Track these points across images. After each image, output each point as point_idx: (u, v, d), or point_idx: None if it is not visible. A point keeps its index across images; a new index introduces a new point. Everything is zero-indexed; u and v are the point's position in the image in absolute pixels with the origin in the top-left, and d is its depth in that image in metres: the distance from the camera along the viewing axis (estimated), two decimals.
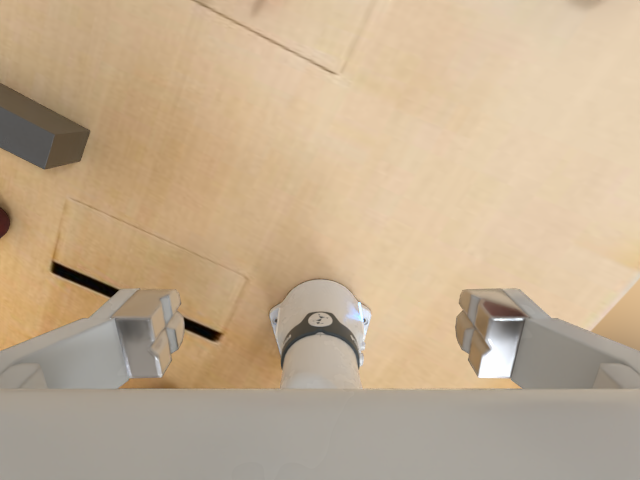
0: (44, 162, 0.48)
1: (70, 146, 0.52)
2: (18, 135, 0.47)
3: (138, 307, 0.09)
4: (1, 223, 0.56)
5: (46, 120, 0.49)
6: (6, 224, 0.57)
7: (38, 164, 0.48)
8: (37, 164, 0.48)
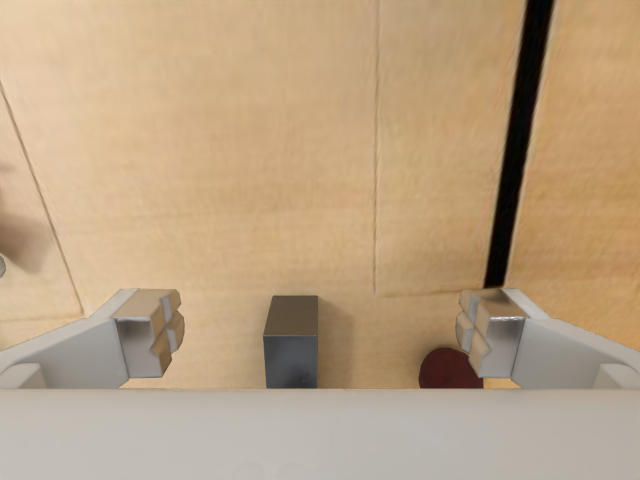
0: (307, 337, 0.35)
1: (288, 312, 0.39)
2: (289, 369, 0.36)
3: (138, 307, 0.09)
4: (438, 358, 0.41)
5: None
6: (441, 351, 0.42)
7: (314, 343, 0.35)
8: (314, 344, 0.35)
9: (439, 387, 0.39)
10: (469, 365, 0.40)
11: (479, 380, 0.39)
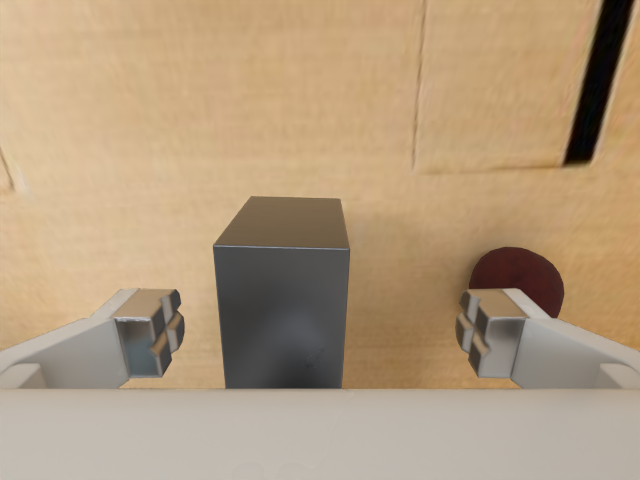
0: (325, 253, 0.14)
1: (280, 215, 0.17)
2: (277, 337, 0.15)
3: (138, 307, 0.09)
4: (501, 255, 0.29)
5: None
6: (503, 248, 0.30)
7: (341, 269, 0.14)
8: (342, 271, 0.14)
9: None
10: (545, 262, 0.29)
11: (560, 282, 0.28)
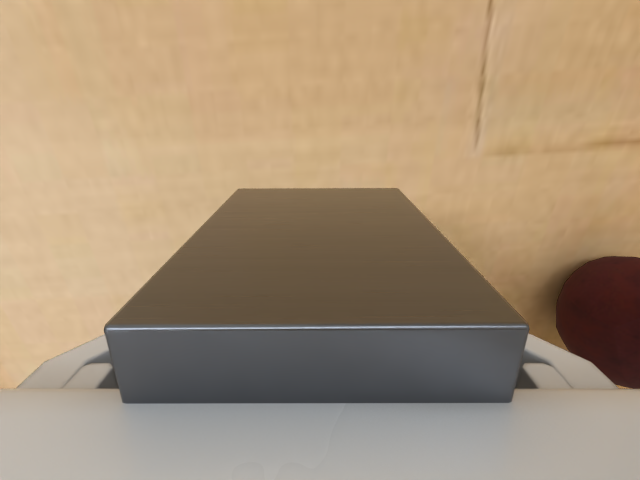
0: (450, 341, 0.04)
1: (296, 222, 0.08)
2: None
3: None
4: (614, 269, 0.20)
5: None
6: (612, 259, 0.21)
7: (495, 382, 0.05)
8: (499, 389, 0.05)
9: (632, 323, 0.18)
10: None
11: None
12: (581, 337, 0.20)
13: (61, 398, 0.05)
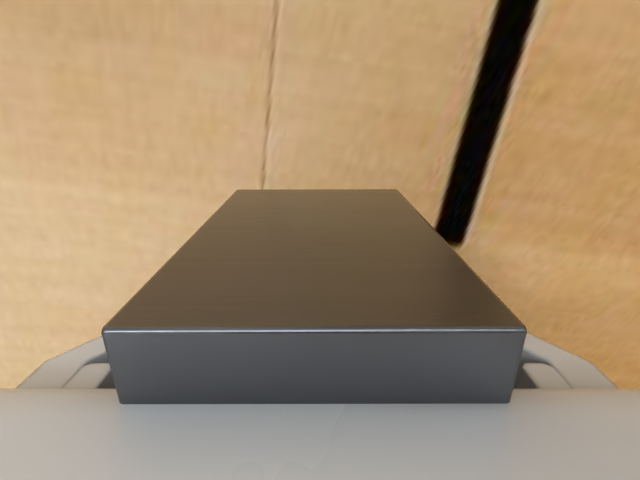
0: (448, 344, 0.04)
1: (295, 224, 0.08)
2: None
3: None
4: None
5: None
6: None
7: (493, 385, 0.05)
8: (496, 392, 0.05)
9: None
10: None
11: None
12: None
13: (61, 398, 0.05)
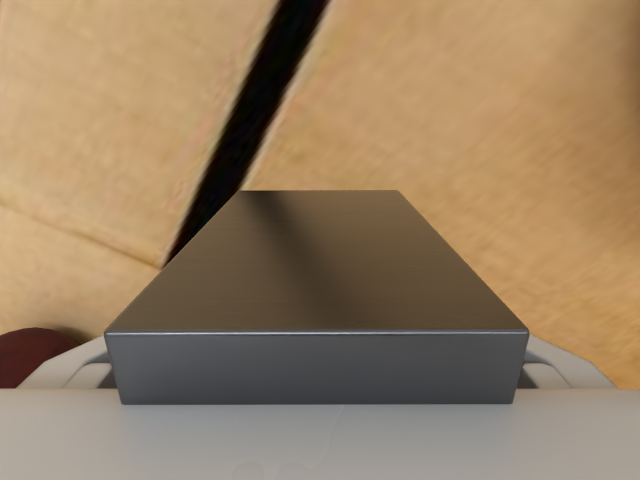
0: (450, 346, 0.04)
1: (296, 225, 0.08)
2: None
3: None
4: (10, 340, 0.22)
5: None
6: (32, 333, 0.23)
7: (495, 387, 0.05)
8: (499, 394, 0.05)
9: None
10: None
11: None
12: None
13: (61, 398, 0.05)
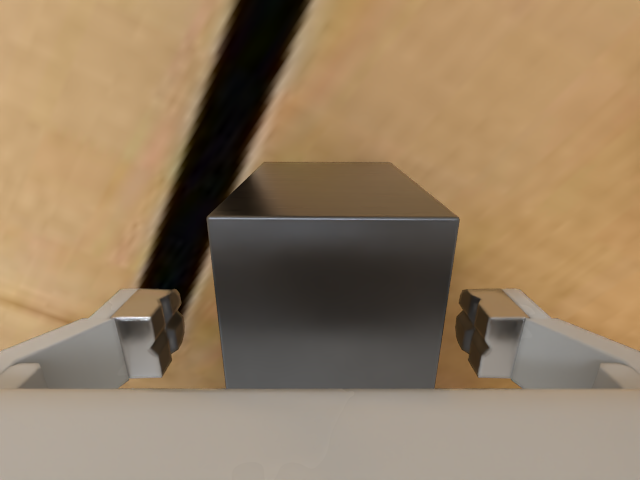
0: (413, 229, 0.08)
1: (314, 179, 0.11)
2: (321, 377, 0.09)
3: (138, 307, 0.09)
4: None
5: None
6: None
7: (441, 256, 0.08)
8: (443, 261, 0.08)
9: None
10: None
11: None
12: None
13: (61, 398, 0.05)
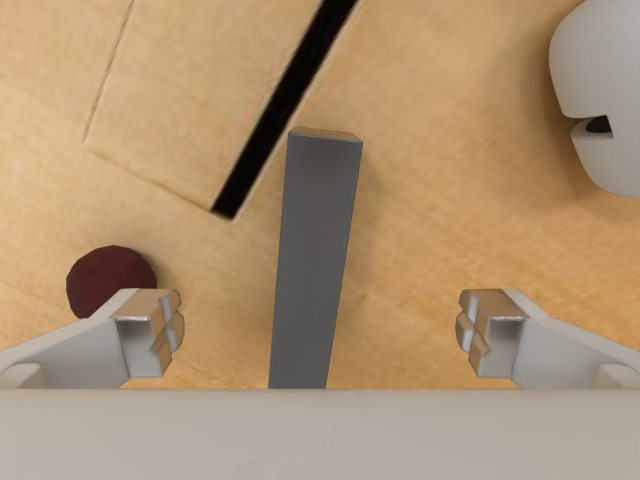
0: (349, 143, 0.25)
1: (319, 132, 0.29)
2: (316, 194, 0.26)
3: (138, 307, 0.09)
4: (108, 250, 0.32)
5: None
6: (120, 247, 0.33)
7: (357, 153, 0.25)
8: (357, 155, 0.25)
9: (78, 275, 0.31)
10: (135, 273, 0.32)
11: None
12: (68, 276, 0.32)
13: (61, 398, 0.05)
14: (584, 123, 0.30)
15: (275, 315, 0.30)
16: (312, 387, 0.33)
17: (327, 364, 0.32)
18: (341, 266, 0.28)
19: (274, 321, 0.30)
